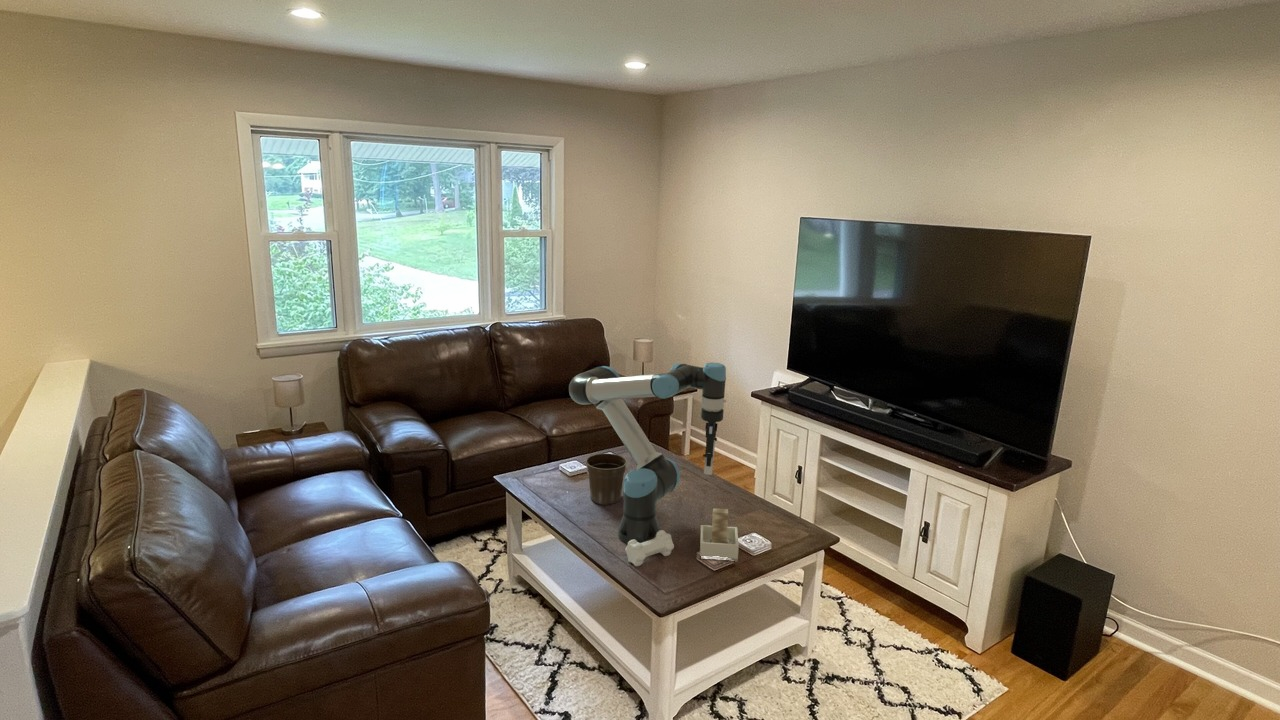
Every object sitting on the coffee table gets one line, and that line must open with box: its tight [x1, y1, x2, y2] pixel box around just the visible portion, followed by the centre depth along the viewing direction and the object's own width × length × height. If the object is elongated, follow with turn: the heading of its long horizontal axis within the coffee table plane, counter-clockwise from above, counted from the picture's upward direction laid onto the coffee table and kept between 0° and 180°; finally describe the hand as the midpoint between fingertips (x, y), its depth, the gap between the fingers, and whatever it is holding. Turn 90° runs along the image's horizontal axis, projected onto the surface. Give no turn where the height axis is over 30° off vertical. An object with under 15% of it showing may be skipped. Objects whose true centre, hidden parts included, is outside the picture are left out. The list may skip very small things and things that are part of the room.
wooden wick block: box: [711, 507, 729, 544], centre depth 228 cm, size 5×3×14 cm, turn 85°
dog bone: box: [624, 529, 675, 567], centre depth 224 cm, size 15×9×8 cm, turn 125°
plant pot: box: [585, 452, 628, 506], centre depth 266 cm, size 16×16×16 cm
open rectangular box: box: [699, 524, 740, 563], centre depth 229 cm, size 13×13×6 cm
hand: (709, 466), depth 233 cm, fingers open, 13 cm apart
